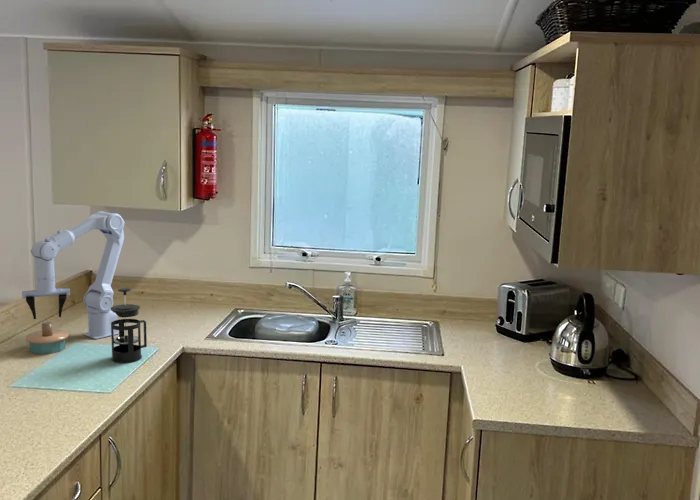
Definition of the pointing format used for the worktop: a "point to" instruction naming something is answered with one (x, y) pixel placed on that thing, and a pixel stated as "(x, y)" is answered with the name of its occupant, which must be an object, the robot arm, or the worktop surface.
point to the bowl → (47, 347)
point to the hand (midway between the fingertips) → (47, 317)
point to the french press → (126, 342)
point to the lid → (47, 335)
